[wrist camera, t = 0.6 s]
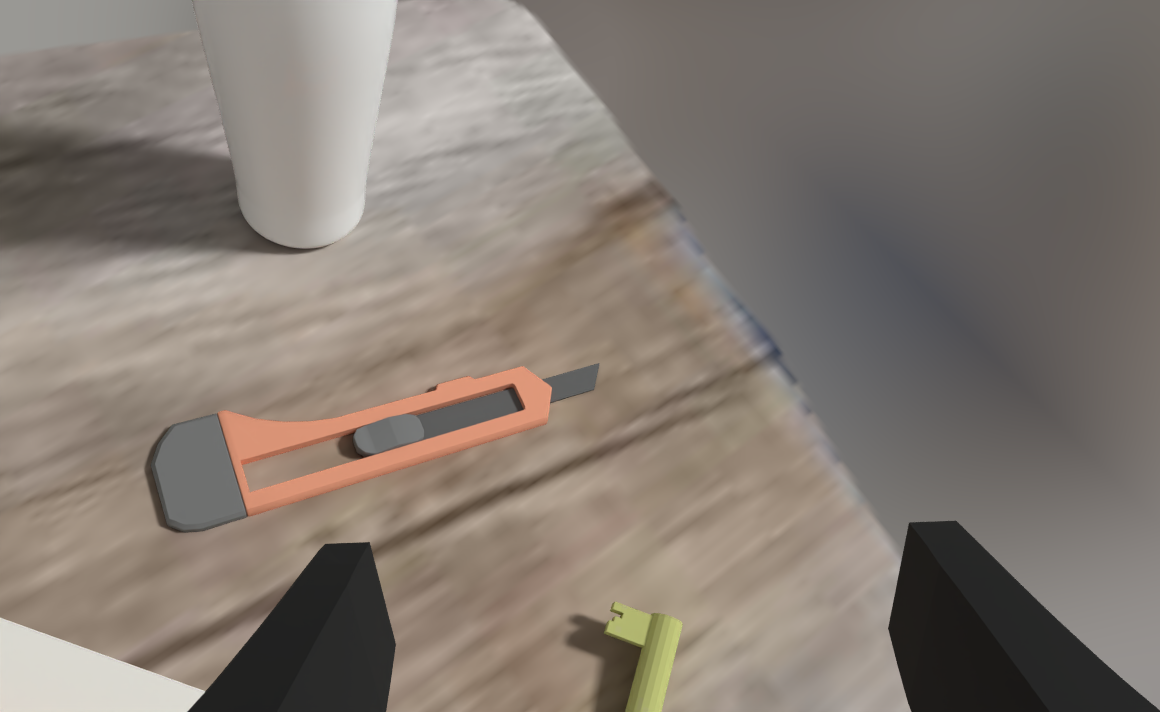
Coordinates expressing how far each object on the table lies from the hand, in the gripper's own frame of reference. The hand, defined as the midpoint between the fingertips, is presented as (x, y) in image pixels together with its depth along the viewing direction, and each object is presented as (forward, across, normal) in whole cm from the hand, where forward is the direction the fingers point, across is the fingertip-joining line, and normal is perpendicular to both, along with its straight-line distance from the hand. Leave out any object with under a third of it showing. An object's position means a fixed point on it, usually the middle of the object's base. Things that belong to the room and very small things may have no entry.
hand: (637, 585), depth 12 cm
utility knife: (+19, +9, +11) cm, 24 cm away
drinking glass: (+28, +14, +5) cm, 31 cm away
